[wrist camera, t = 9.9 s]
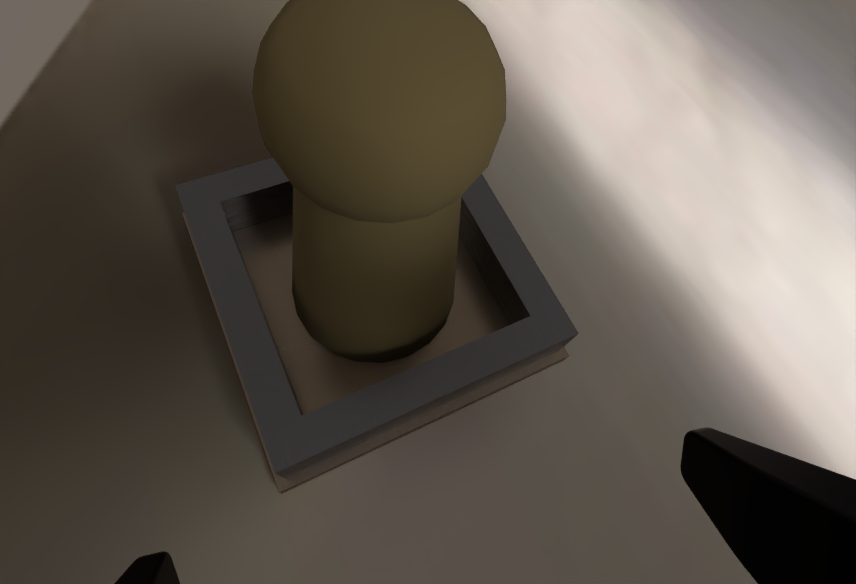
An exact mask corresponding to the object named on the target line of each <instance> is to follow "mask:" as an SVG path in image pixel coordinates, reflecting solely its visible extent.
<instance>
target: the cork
mask: <svg viewBox="0 0 856 584" xmlns="http://www.w3.org/2000/svg"><path fill="white" fill-rule="evenodd" d="M252 94H253V98H254V103H255V108H256V113H257V117H258V122H259V126H260V130H261V133H262V137H263V140H264V144H265V146H266V147H267V149H268V150H269V152H270V153H271V155H272V156H273V158H274V159H275V161H276V162H277V164H278V165H279V167H280V168H281V170H282V171H283V173H284V174H285V175H286V177H287V178H288V180H289V181H290V182H291V184H292V185H293V245H292V293H293V298H294V303H295V308H296V313H297V315H298V317H299V319H300V320H301V322H302V324H303V325H304V327H305V328H306V330H307V332H308V333H309V335H310V336H311V337H312V338H314V339H315V340H316V341H317V342H319V343H320V344H321V345H322V346H323V347H325V348H326V349H327V350H328V351H330V352H332V353H334V354H337V355H340V356H342V357H345V358H347V359H350V360H353V361H355V362H373V363H385V362H389V361H393V360H396V359H400V358H404V357H408V356H410V355H412V354H413V353H415V352H416V351H418V350H420V349H421V348H423V347H424V346H426V345H428V344H429V343H430V342H431V341H432V340H433V339H434V337H435V336H436V335H437V334H438V333H439V331H440V330H441V329H442V328H443V327H444V325H445V324H446V321H447V319H448V316H449V313H450V310H451V308H452V305H453V301H454V288H455V275H456V262H457V248H458V235H459V222H460V209H461V196H462V195H463V194H464V193H465V192H466V191H467V190H468V188H469V187H470V186H471V185H472V184H473V183H474V182H475V181H476V180H477V179H478V178H479V176H480V175H481V174H482V173H483V172H484V170H485V169H486V168H487V167H488V165H489V162H490V160H491V157H492V155H493V152H494V149H495V147H496V144H497V142H498V139H499V136H500V134H501V131H502V128H503V126H504V123H505V120H506V85H505V69H504V67H503V64H502V62H501V59H500V57H499V54H498V52H497V50H496V47H495V45H494V43H493V41H492V39H491V37H490V34H489V32H488V30H487V28H486V26H485V25H484V24H483V23H482V22H481V21H480V20H479V19H478V18H477V16H476V15H475V14H474V13H473V12H472V11H471V10H470V9H469V8H468V7H467V6H466V5H465V4H463V3H462V2H460V1H458V0H290V1H288V2H287V3H286V4H285V6H284V7H283V8H282V10H281V11H280V12H279V14H278V15H277V17H276V18H275V19H274V21H273V22H272V23H271V25H270V26H269V28H268V30H267V32H266V34H265V35H264V37H263V39H262V41H261V43H260V47H259V51H258V56H257V60H256V65H255V69H254V78H253V93H252Z"/></svg>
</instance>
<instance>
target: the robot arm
mask: <svg viewBox="0 0 856 584" xmlns="http://www.w3.org/2000/svg"><path fill="white" fill-rule="evenodd" d="M681 473H682V476H683V478H684V480H685V482H686V484H687V485H688V487H689V488H690V490H691V491H692V493H693V494H694V495H695V497H696V498H697V500H698V501H699V503H700V504H701V506H702V507H703V509H704V510H705V512H706V513H707V515H708V516H709V518H710V519H711V521H712V522H713V524H714V525H715V527H716V528H717V529H718V531H719V532H720V534H721V535H722V537H723V538H724V540H725V541H726V543H727V544H728V546H729V547H730V548H731V550H732V551H733V553H734V554H735V555H736V557H737V558H738V559H739V561H740V562H741V563H742V564H743V566H744V567H745V568H746V570H747V571H748V572H749V573H750V575H751V576H752V577H753V578H754V579H755V581H756V582H757V583H758V584H856V480H855V479H852V478H850V477H847V476H844V475H841V474H838V473H836V472H833V471H830V470H827V469H824V468H822V467H819V466H816V465H813V464H810V463H808V462H805V461H802V460H799V459H796V458H794V457H791V456H788V455H785V454H782V453H780V452H777V451H774V450H771V449H768V448H766V447H763V446H760V445H757V444H754V443H751V442H749V441H746V440H743V439H740V438H737V437H735V436H732V435H729V434H726V433H723V432H721V431H718V430H715V429H712V428H700V429H696V430H692V431H689V432H687V433H686V435H685V437H684V443H683V451H682V459H681ZM114 584H180V582H179V579H178V576H177V573H176V570H175V567H174V564H173V561H172V558H171V556H170V555H169V553H167V552H158V553H154V554H150V555H145V556H142V557H139V558H138V559H136V560H135V561H134V562H133V563H132V564H131V565H130V567H129V568H128V569H127V570H126V571H125V572H124V573H123V574H122V576H121V577H120V578H119V579H118V580H117V581H116V582H115V583H114Z"/></svg>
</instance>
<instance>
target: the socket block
mask: <svg viewBox="0 0 856 584" xmlns="http://www.w3.org/2000/svg"><path fill="white" fill-rule="evenodd" d="M175 188H176V191H177V194H178V196H179V199H180V202H181V205H182V208H183V211H184V213H182V214H183V217H184V220H185V223H186V226H187V229H188V232H189V234H190V237H191V240H192V243H193V246H194V249H195V252H196V255H197V258H198V260H199V263H200V266H201V269H202V272H203V275H204V278H205V281H206V284H207V286H208V289H209V292H210V295H211V298H212V301H213V304H214V307H215V309H216V312H217V315H218V318H219V321H220V324H221V327H222V330H223V333H224V335H225V338H226V341H227V344H228V347H229V350H230V353H231V356H232V358H233V361H234V364H235V367H236V370H237V373H238V376H239V379H240V382H241V384H242V387H243V390H244V393H245V396H246V399H247V402H248V405H249V408H250V410H251V413H252V416H253V419H254V422H255V425H256V428H257V431H258V433H259V436H260V439H261V442H262V445H263V448H264V451H265V454H266V457H267V459H268V462H269V465H270V468H271V471H272V474H273V477H274V480H275V483H276V485H277V488H278V491H279V493H284V492H286V491H288V490H290V489H292V488H294V487H297V486H299V485H301V484H303V483H305V482H307V481H309V480H311V479H313V478H316V477H318V476H320V475H322V474H324V473H326V472H328V471H330V470H333V469H335V468H337V467H339V466H341V465H343V464H345V463H347V462H349V461H352V460H354V459H356V458H358V457H360V456H362V455H364V454H366V453H368V452H371V451H373V450H375V449H377V448H379V447H381V446H383V445H385V444H387V443H390V442H392V441H394V440H396V439H398V438H400V437H402V436H404V435H407V434H409V433H411V432H413V431H415V430H417V429H419V428H421V427H423V426H426V425H428V424H430V423H432V422H434V421H436V420H438V419H440V418H442V417H445V416H447V415H449V414H451V413H453V412H455V411H457V410H459V409H461V408H464V407H466V406H468V405H470V404H472V403H474V402H476V401H478V400H480V399H483V398H485V397H487V396H489V395H491V394H493V393H495V392H497V391H500V390H502V389H504V388H506V387H508V386H510V385H512V384H514V383H516V382H519V381H521V380H523V379H525V378H527V377H529V376H531V375H533V374H535V373H538V372H540V371H542V370H544V369H546V368H548V367H550V366H552V365H554V364H557V363H559V362H561V361H563V360H564V359H566V358H567V357H568V356H569V355H568V353H567V351H566V350H565V348H564V346H565V345H566V344H567V343H568V342H570V341H571V340H572V339H573V338H574V337H575V336H576V335H577V334H579V333H578V332H577V330H576V328H575V327H574V325H573V323H572V322H571V320H570V319H569V317H568V315H567V314H566V312H565V310H564V309H563V307H562V305H561V304H560V302H559V300H558V299H557V297H556V295H555V294H554V292H553V291H552V289H551V287H550V286H549V284H548V282H547V281H546V279H545V277H544V276H543V274H542V272H541V271H540V269H539V267H538V266H537V264H536V263H535V261H534V259H533V258H532V256H531V254H530V253H529V251H528V249H527V248H526V246H525V244H524V243H523V241H522V239H521V238H520V236H519V235H518V233H517V231H516V230H515V228H514V226H513V225H512V223H511V221H510V220H509V218H508V216H507V215H506V213H505V211H504V210H503V208H502V207H501V205H500V203H499V202H498V200H497V198H496V197H495V195H494V193H493V192H492V190H491V188H490V187H489V185H488V183H487V182H486V180H485V179H484V177H483V175H482V174H481V175H480V176H479V178H478V179H477V180H476V181H475V182H474V183H473V184H472V185H471V186H470V187H469V188H468V190H467V191H466V192H465V193H464V194H463V195H462V196H461V209H460V222H459V235H458V248H457V262H456V275H455V288H454V301H453V305H452V308H451V310H450V313H449V316H448V319H447V321H446V324H445V325H444V327H443V328H442V329H441V330H440V331H439V333H438V334H437V335H436V336H435V337H434V339H433V340H432V341H431V342H430V343H429V344H428V345H426V346H424V347H423V348H421V349H420V350H418V351H416V352H415V353H413V354H412V355H410V356H408V357H404V358H400V359H396V360H393V361H389V362H385V363H373V362H355V361H353V360H350V359H347V358H345V357H342V356H340V355H337V354H334V353H332V352H330V351H328V350H327V349H326V348H325V347H323V346H322V345H321V344H320V343H319V342H317V341H316V340H315V339H314V338H312V337H311V336H310V335H309V333H308V332H307V330H306V328H305V327H304V325H303V324H302V322H301V320H300V319H299V317H298V315H297V313H296V308H295V303H294V298H293V293H292V245H293V185H292V184H291V182H290V181H289V180H288V178H287V177H286V175H285V174H284V173H283V171H282V170H281V168H280V167H279V165H278V164H277V162H276V161H275V159H274V158H273V157H271V158H268V159H264V160H261V161H257V162H254V163H251V164H247V165H244V166H240V167H237V168H233V169H230V170H226V171H223V172H219V173H216V174H212V175H209V176H206V177H202V178H199V179H195V180H192V181H188V182H185V183H181V184H178V185H175Z"/></svg>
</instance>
